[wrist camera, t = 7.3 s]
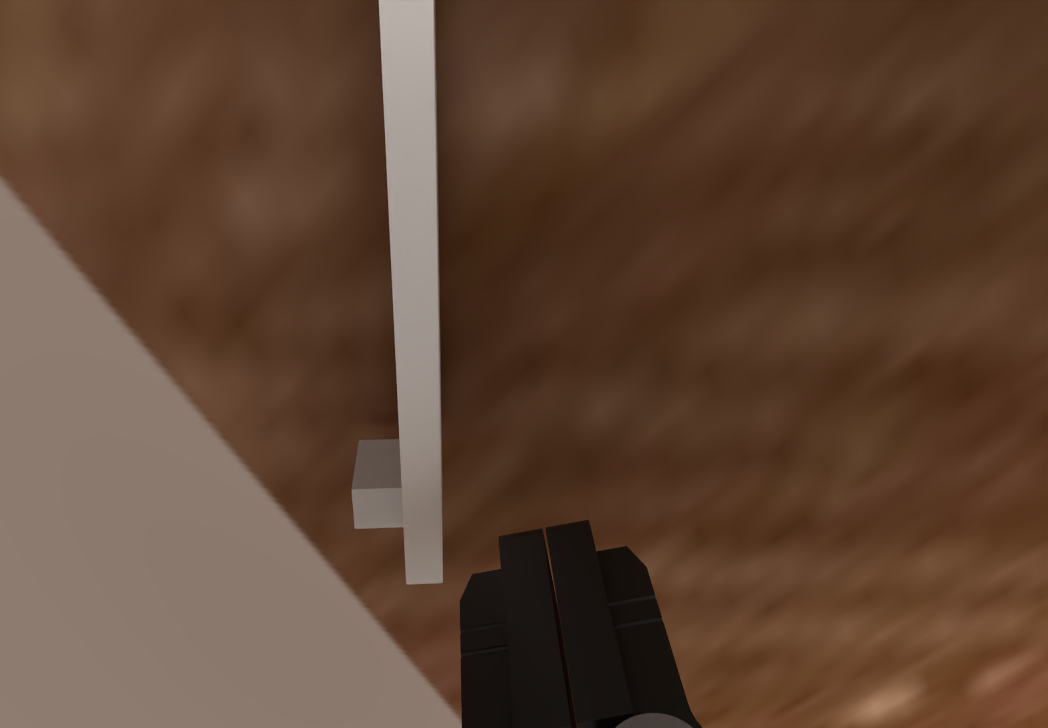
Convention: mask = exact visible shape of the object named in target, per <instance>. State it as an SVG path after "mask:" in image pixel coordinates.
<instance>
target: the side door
mask: <svg viewBox="0 0 1048 728" xmlns="http://www.w3.org/2000/svg"><path fill="white" fill-rule="evenodd" d="M379 16H380V37H381V59H382V80H383V101H384V122H385V143H386V165H387V186H388V207H389V228H390V250H391V271H392V292H393V313H394V334H395V356H396V377H397V398H398V419H399V439H385V440H359V443H358V449H357V456H356V462H355V469H354V476H353V482H352V489H351V490H352V502H353V513H354V525H355V529H363V528H393V527H404V547H405V568H406V584H430V583H443V540H442V420H441V353H440V286H439V219H438V152H437V85H436V18H435V0H379Z"/></svg>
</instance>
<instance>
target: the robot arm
mask: <svg viewBox="0 0 1048 728" xmlns="http://www.w3.org/2000/svg"><path fill="white" fill-rule="evenodd" d="M546 533H547V539H548V546H549V552H550V558H551V565H552V571H553V577H554V584H555V590H556V595H555V590H554V585H553V580H552V575H551V570H550V565H549V560H548V555H547V550H546V545H545V540H544V535H543V530H542V529H536V530H531V531H525V532H520V533H514V534H509V535H503V536H499V549H500V561H501V569H498V570H493V571H487V572H482V573H476V574H472V576H471V578H470V580H469V582H468V585H467V587H466V589H465V591H464V593H463V595H462V598H461V600H460V630H461V635H460V639H461V701H462V728H702V727H701V725H700V724H699V723H698V722H697V721H696V719H695V717H694V716H693V714H692V712H691V710H690V707H689V705H688V702H687V699H686V696H685V692H684V689H683V686H682V682H681V679H680V676H679V672H678V669H677V666H676V663H675V659H674V656H673V653H672V649H671V646H670V643H669V639H668V636H667V633H666V630H665V626H664V623H663V621H662V617H661V613H660V610H659V606H658V603H657V600H656V598H655V593H654V590H653V587H652V583H651V580H650V577H649V573H648V570H647V567H646V566H645V565H644V564H643V563H642V562H641V561H640V560H639V559H638V558H637V557H636V555H635V554H634V553H633V552H632V551H631V550H630V549H629V548H628V547H627V546H625V547H619V548H614V549H608V550H603V551H597V552H596V549H595V544H594V540H593V536H592V531H591V527H590V523H589V520H585V521H580V522H574V523H569V524H563V525H557V526H552V527H546ZM556 596H557V601H556ZM557 603H558V606H557ZM558 609H559V612H558ZM559 615H560V617H559ZM560 622H561V623H560ZM561 628H562V629H561ZM562 634H563V635H562ZM563 641H564V642H563ZM564 647H565V648H564ZM565 653H566V654H565ZM566 660H567V661H566ZM567 666H568V667H567ZM568 672H569V673H568ZM569 679H570V680H569ZM570 685H571V686H570ZM571 691H572V692H571ZM572 698H573V699H572ZM573 704H574V705H573ZM574 710H575V711H574ZM575 717H576V718H575ZM576 723H577V724H576Z"/></svg>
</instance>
